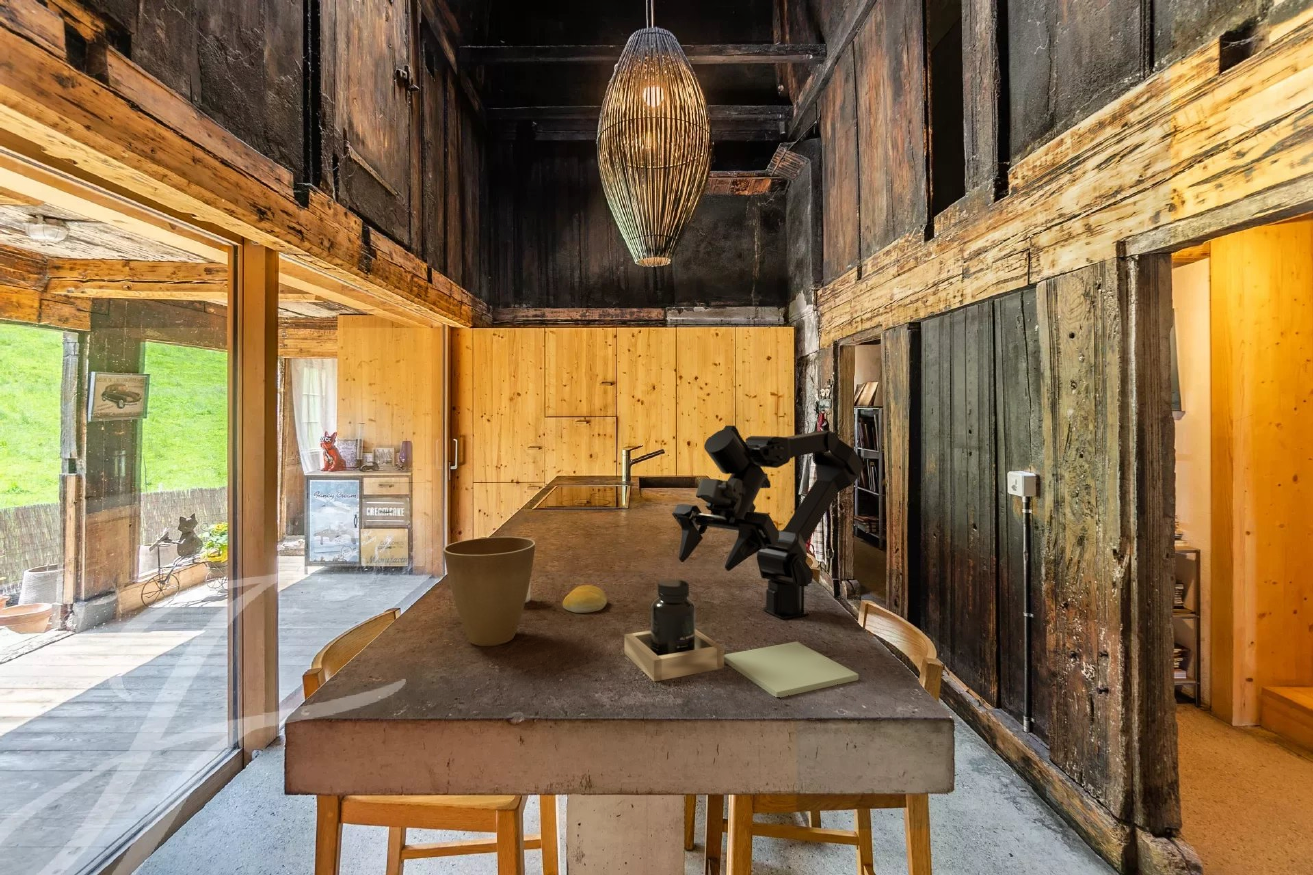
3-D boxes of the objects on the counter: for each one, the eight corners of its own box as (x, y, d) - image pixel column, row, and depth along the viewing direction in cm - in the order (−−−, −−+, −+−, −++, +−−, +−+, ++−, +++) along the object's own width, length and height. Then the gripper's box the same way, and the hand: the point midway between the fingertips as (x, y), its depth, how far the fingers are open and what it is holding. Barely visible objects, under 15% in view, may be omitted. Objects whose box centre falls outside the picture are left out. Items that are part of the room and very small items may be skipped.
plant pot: (496, 618, 111) (496, 533, 111) (553, 635, 102) (553, 542, 102) (425, 642, 99) (424, 546, 99) (483, 663, 90) (482, 557, 90)
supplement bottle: (691, 671, 87) (691, 590, 87) (646, 667, 89) (646, 587, 88) (697, 653, 94) (698, 578, 94) (655, 650, 95) (655, 576, 95)
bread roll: (558, 613, 115) (558, 592, 115) (572, 600, 124) (572, 580, 124) (599, 615, 113) (599, 594, 113) (611, 602, 122) (611, 582, 122)
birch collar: (688, 642, 99) (688, 624, 99) (724, 668, 88) (724, 647, 88) (624, 653, 94) (624, 634, 94) (653, 681, 84) (653, 660, 84)
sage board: (796, 646, 97) (796, 641, 97) (858, 679, 84) (858, 674, 84) (722, 660, 91) (722, 654, 91) (776, 698, 79) (776, 692, 79)
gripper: (678, 458, 107) (637, 528, 99) (770, 463, 95) (731, 542, 86) (704, 498, 113) (667, 566, 105) (794, 507, 101) (759, 585, 93)
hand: (703, 564), depth 97 cm, fingers open, 9 cm apart
